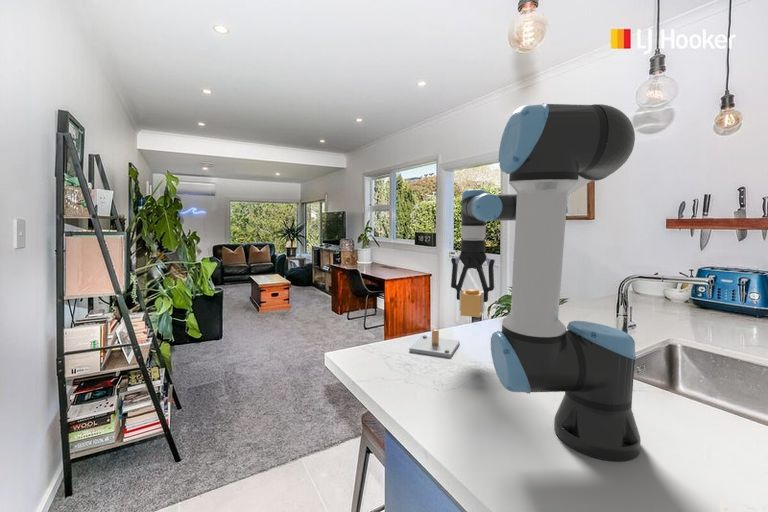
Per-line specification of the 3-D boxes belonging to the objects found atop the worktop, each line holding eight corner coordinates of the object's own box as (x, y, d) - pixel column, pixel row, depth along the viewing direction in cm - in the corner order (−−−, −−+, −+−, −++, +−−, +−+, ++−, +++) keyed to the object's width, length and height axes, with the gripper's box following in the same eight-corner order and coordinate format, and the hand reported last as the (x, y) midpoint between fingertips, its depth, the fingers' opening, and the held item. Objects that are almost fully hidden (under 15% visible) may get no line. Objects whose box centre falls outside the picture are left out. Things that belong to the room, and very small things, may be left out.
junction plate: (450, 357, 116) (450, 339, 115) (409, 351, 121) (409, 333, 121) (459, 343, 129) (459, 327, 128) (422, 338, 134) (422, 322, 134)
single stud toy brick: (479, 317, 113) (480, 292, 112) (460, 315, 115) (460, 291, 115) (482, 312, 118) (483, 289, 117) (464, 310, 121) (464, 288, 120)
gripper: (505, 239, 114) (503, 310, 116) (446, 238, 122) (446, 305, 124) (503, 240, 107) (501, 316, 109) (440, 239, 115) (440, 310, 117)
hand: (471, 310), depth 117 cm, fingers closed on single stud toy brick, 6 cm apart
